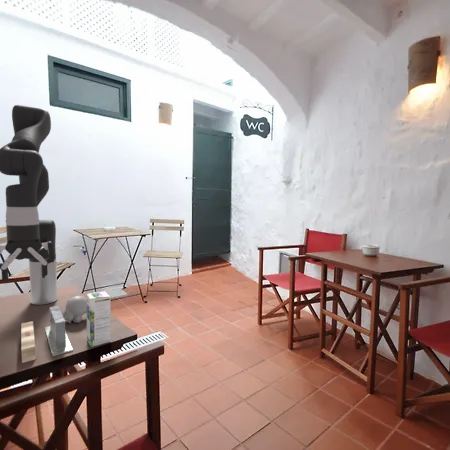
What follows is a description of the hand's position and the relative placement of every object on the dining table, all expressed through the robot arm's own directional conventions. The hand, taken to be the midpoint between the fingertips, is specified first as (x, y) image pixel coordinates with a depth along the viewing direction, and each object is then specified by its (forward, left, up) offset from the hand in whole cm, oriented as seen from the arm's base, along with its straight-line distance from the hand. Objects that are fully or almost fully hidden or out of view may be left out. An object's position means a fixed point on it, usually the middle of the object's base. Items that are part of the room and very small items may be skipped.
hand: (25, 279), depth 83 cm
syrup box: (+8, +17, -20) cm, 28 cm away
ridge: (0, +7, -20) cm, 21 cm away
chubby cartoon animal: (-11, +17, -20) cm, 28 cm away
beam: (0, 0, -20) cm, 20 cm away
